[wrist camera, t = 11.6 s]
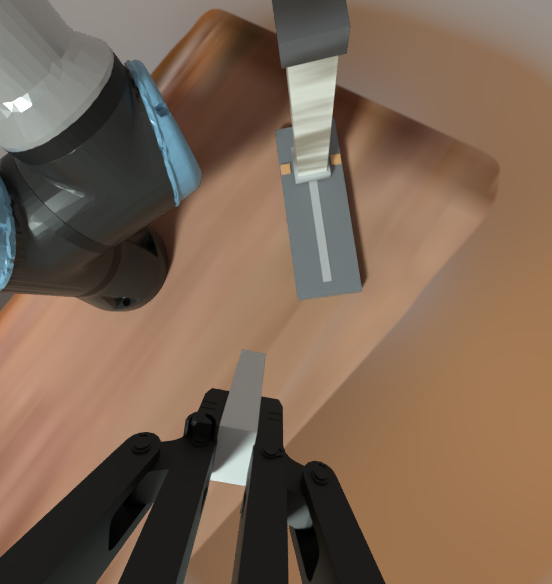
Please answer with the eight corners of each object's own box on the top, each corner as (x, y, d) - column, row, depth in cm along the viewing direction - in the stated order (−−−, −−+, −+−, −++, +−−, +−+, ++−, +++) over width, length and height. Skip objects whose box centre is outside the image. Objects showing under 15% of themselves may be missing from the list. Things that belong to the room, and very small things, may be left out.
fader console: (359, 292, 40) (362, 290, 38) (298, 300, 41) (297, 299, 39) (333, 126, 43) (334, 116, 41) (276, 138, 44) (274, 128, 42)
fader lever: (330, 177, 40) (350, 26, 19) (295, 184, 40) (278, 43, 19) (325, 145, 40) (339, -38, 19) (291, 152, 41) (269, -18, 20)
